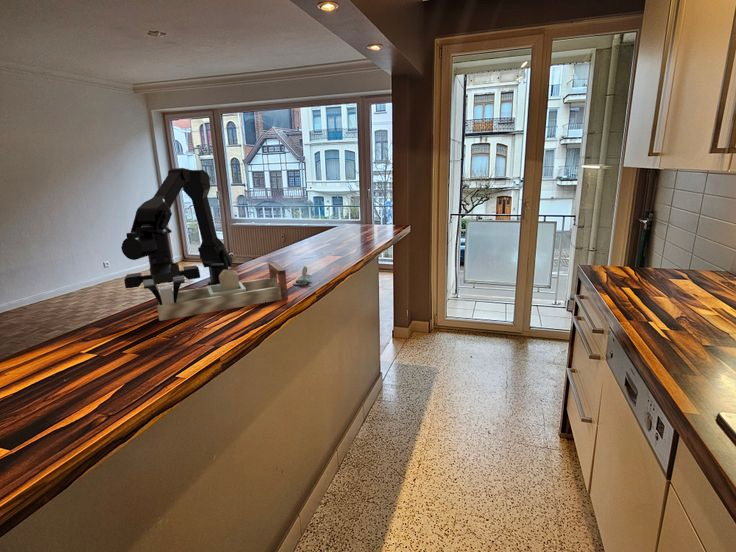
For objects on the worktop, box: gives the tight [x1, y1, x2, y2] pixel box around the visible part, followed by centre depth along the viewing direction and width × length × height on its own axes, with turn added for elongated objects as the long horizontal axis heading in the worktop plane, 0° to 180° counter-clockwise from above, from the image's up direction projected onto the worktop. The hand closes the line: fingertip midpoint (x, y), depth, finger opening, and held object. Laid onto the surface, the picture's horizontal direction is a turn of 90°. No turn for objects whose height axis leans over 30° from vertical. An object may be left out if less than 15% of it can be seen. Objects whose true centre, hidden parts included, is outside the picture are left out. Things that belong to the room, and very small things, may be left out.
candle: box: [219, 269, 240, 292], centre depth 123 cm, size 6×6×10 cm
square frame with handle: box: [159, 280, 246, 305], centre depth 120 cm, size 22×10×7 cm, turn 116°
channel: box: [156, 261, 289, 322], centre depth 122 cm, size 36×13×9 cm, turn 116°
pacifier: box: [292, 265, 312, 286], centre depth 141 cm, size 7×6×6 cm
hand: (168, 305), depth 116 cm, fingers closed on square frame with handle, 3 cm apart
